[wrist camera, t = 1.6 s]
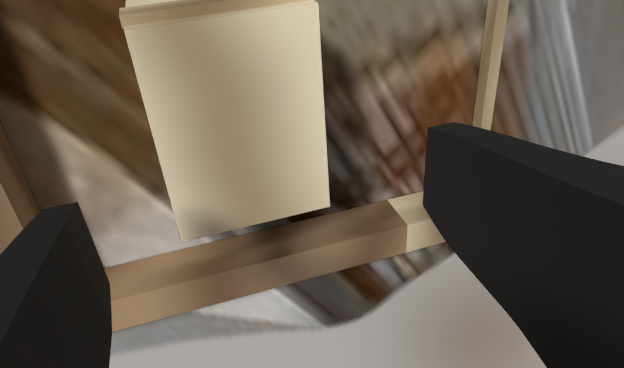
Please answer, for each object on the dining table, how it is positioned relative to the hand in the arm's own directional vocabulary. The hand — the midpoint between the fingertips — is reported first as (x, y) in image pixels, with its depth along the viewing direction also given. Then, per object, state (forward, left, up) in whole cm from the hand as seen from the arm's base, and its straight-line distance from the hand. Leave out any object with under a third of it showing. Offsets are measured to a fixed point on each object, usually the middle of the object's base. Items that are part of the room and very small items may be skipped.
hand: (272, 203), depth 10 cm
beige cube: (0, 0, -8) cm, 8 cm away
